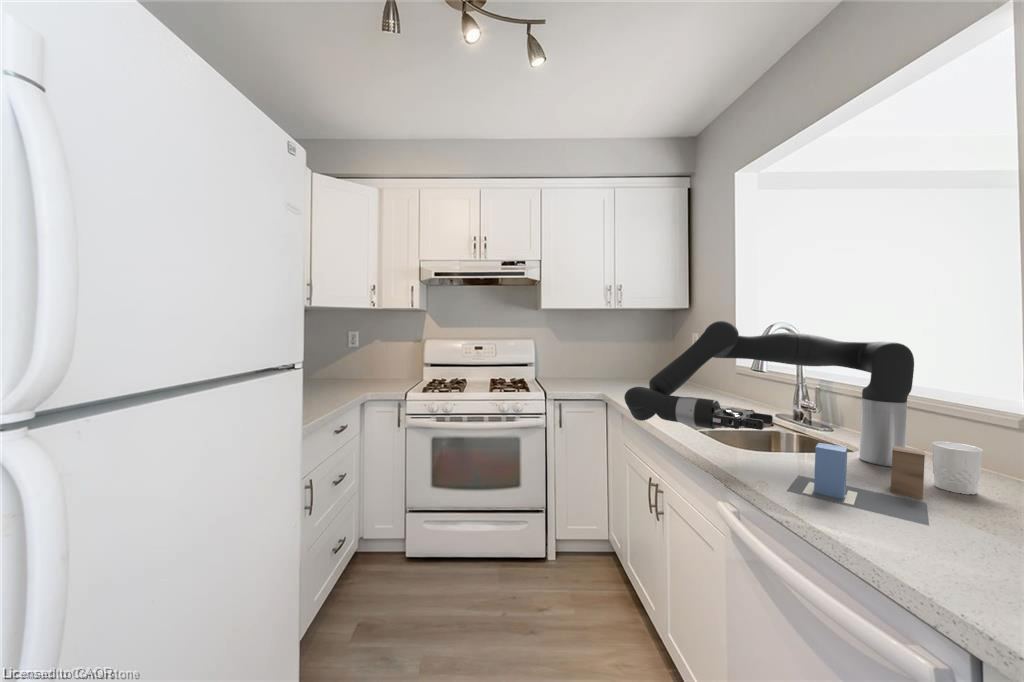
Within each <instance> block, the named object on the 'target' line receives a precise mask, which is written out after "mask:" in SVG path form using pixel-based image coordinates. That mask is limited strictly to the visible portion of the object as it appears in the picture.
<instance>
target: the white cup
mask: <svg viewBox="0 0 1024 682" xmlns="http://www.w3.org/2000/svg"><path fill="white" fill-rule="evenodd" d="M931 452H932V453H931V455H932V457H931V458H932V459H931V460H932V461H931V462H932V474H933V485H934V487H936V488H938V489H940V490H944V491H948V492H950V491H951V492H950V493H956V494H960V493H961V494H962V495H969V494H972V495H971V496H973V495H977V494H978V490H979V488H978V487H979V481H980V477H981V476H980V475H981V471H982V461H983V453H984V449H982V448H980V447H978V446H973V445H969V444H965V443H960V442H959V443H958V442H953V441H952V442H951V441H942V440H941V441H938V440H937V441H932V442H931Z"/></svg>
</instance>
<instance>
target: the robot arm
mask: <svg viewBox="0 0 1024 682" xmlns="http://www.w3.org/2000/svg"><path fill="white" fill-rule="evenodd" d="M712 358H715V359H739V360H740V359H741V360H755V361H761V362H762V361H763V362H770V363H778V364H779V363H780V364H786V365H793V366H800V367H801V366H802V367H843V368H846V369H847V368H848V369H854V370H857V371H862V372H866V373H870V380H869V383H868V385H867V386H865V387H863V388H862V390H861V412H860V413H861V417H860V439H859V440H860V441H859V443H860V444H859V459H860V460H862V461H864V462H866V463H870V464H874V465H878V466H885V467H891V468H892V449H893V446H899V447H906V443H907V441H906V439H907V436H906V435H907V417H908V413H907V412H908V411H907V410H908V397H909V395H910V393H911V391H912V388H913V382H914V372H915V371H914V370H915V358H914V354H913V352H912V351H911V348H909V347H908V346H907V345H905V344H902V343H900V342H896V341H895V342H893V341H863V342H862V341H843V340H842V341H841V340H836V339H832V338H828V337H824V336H819V335H814V334H807V333H800V332H799V333H798V332H797V333H796V332H777V333H770V334H769V333H768V334H762V335H757V336H756V335H755V336H748V335H747V336H745V335H740V334H739V330H738V328H737V327H736V325H735V324H733V323H732V322H729V321H727V320H726V321H725V320H718V321H715V322H713V323H711V324H709V325H708V326H707V327H706V329H705V330H704V332H703V333H702V334H701V335H700V336H699V337H698V339H697V340H696V341H695V342H693V344H692V345H691V346H690V347H688V348H687V349H686V350H684V352H682V354H680V355H679V356H677V357H676V358H675V359H674V360H672V361H671V362H670V363H669V364H667V365H666V366H665V367H664V368H662V369H661V370H660V371H659V372H658V373H656V374H655V375H654V376H653V377H652V378H651V379H649V385H648V386H649V387H645V386H634V387H630V388H629V389H628V390H626V392H625V394H624V403H625V404H626V406H627V408H628V410H629V412H630V413H631V415H632V417H633V418H634V419H635V420H637V421H642V422H643V421H647V420H649V419H651V418H653V417H654V416H655V415H656V416H657V417H659V418H660V419H661V420H664V421H669V422H674V423H680V424H683V425H687V426H691V427H692V426H693V427H698V428H705V429H709V430H715V429H717V428H718V426H719V427H724V428H730V429H735V430H739V429H745V428H746V429H752V430H759V431H762V430H764V426H765V425H764V424H766V425H771V424H773V421H774V419H773V418H774V417H773V415H772V414H766V413H760V412H756V410H754V409H744V408H736V407H726V408H721V404H720V402H719V401H718V400H716V399H710V398H701V397H692V396H678V395H672V394H673V393H675V392H676V391H677V390H678V389H679V388H681V387H682V386H683V385H684V384H686V383H687V381H689V380H690V379H691V378H692V377H693V376H694V374H696V373H697V372H698V370H699V369H700V368H702V366H704V365H705V364H706V363H707V362H709V361H710V360H711V359H712ZM747 415H748V416H747Z"/></svg>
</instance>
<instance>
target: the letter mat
mask: <svg viewBox="0 0 1024 682" xmlns="http://www.w3.org/2000/svg"><path fill="white" fill-rule="evenodd" d="M786 492H789V493H793V494H797V495H801V496H803V497H805V496H806V497H809V498H812V499H813V498H814V499H817V500H821V501H826V502H830V503H834V504H838V505H842V506H846V507H850V508H854V509H858V510H864V511H867V512H871V513H874V514H879V515H884V516H887V517H892V518H896V519H900V520H904V521H909V522H912V523H917V524H921V525H925V526H930V518H929V512H928V503H927V502H924V501H920V500H915V499H910V498H906V497H900V496H898V495H897V496H896V495H891V494H886V493H884V492H883V493H881V492H878V491H872V490H868V489H863V488H859V487H854V486H849V485H846V493H845V496H844V499H840V498H836V497H831V496H827V495H823V494H818V493H814V478H813V477H808V476H803V475H797V476H796V478H795V479H794V480H793V482H792V483H791V484H790V486H789V487H788V488H787V489H786Z"/></svg>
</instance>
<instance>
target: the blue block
mask: <svg viewBox="0 0 1024 682" xmlns="http://www.w3.org/2000/svg"><path fill="white" fill-rule="evenodd" d="M814 451H815V453H814V454H815V455H814V459H815V460H814V476H813V477H814V478H813V479H814V493H818V494H823V495H827V496H831V497H836V498H840V499H844V496H845V493H846V486H847V472H848V471H847V468H848V463H847V462H848V446H842V445H835V444H829V443H824V442H823V443H822V442H818V443H817V444H816V446H815V449H814Z"/></svg>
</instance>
